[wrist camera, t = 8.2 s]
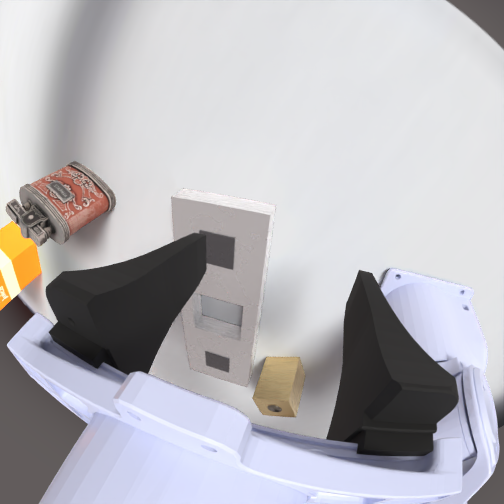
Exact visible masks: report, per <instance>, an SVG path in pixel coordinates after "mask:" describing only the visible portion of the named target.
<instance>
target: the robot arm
mask: <svg viewBox="0 0 504 504" xmlns="http://www.w3.org/2000/svg"><path fill="white" fill-rule="evenodd" d="M206 270H207V261H206V235H204V234H199V233H192V234H189V235H187V236H185V237H183V238H180V239H178V240H176V241H174V242H172V243H170V244H168V245H165V246H163V247H161V248H159V249H156V250H154V251H152V252H149V253H147V254H145V255H142V256H139V257H137V258H134V259H131V260H128V261H124V262H121V263H117V264H113V265H109V266H105V267H100V268H94V269H87V270H78V271H63V272H62V273H61V274H60V275H59V276H58V277H56V278H55V279H54V280H53V281H52V282H51V283H50V284H49V285H48V286H47V287H46V296H47V299H48V302H49V304H50V306H51V308H52V310H53V312H54V314H55V316H56V318H57V320H58V322H57V323H56V324H55V325H53V323H52V322H51V321H50V320H48V319H47V318H45V317H44V316H42V315H41V314H40V313H36V314H35V315H34V316H33V317H32V318H31V319H30V320H29V321H28V322H27V323H26V324H25V325H24V326H23V328H22V329H21V330H20V331H19V332H18V333H17V334H16V335H15V336H14V337H13V338H12V339H11V340H10V342H9V343H8V344H7V346H8V348H9V349H10V351H11V352H12V353H13V355H14V356H15V357H16V358H17V360H18V361H19V362H20V364H21V365H22V366H23V368H24V369H25V370H26V371H27V372H28V374H29V375H30V376H31V377H32V378H33V379H34V380H35V381H37V382H38V383H39V384H40V385H41V386H42V387H43V388H44V389H45V390H47V391H48V392H49V393H50V394H51V395H52V396H54V397H55V398H56V399H57V400H58V401H59V402H61V403H62V404H63V405H64V406H66V407H67V408H68V409H69V410H71V411H72V412H73V413H74V414H76V415H77V416H78V417H80V418H81V419H82V420H84V421H85V422H86V423H88V425H87V427H86V428H85V430H84V431H83V433H82V435H81V436H80V438H79V439H78V441H77V442H76V444H75V445H74V447H73V448H72V450H71V452H70V453H69V455H68V456H67V458H66V460H65V462H64V463H63V464H62V466H61V468H60V469H59V471H58V473H57V474H56V476H55V477H54V479H53V481H52V482H51V484H50V486H49V487H48V489H47V491H46V493H45V495H44V496H43V498H42V499H41V501H40V503H39V504H467V501H468V500H469V499H470V498H471V497H472V496H473V495H474V494H475V493H476V492H477V491H478V490H479V489H480V488H481V486H483V484H484V483H485V482H486V481H487V480H488V479H489V478H490V476H491V475H492V473H493V472H494V469H495V466H496V463H497V461H498V457H499V441H498V426H497V417H496V411H495V406H494V401H493V397H492V394H491V390H490V387H489V384H488V381H487V379H486V376H485V371H486V367H487V361H488V348H487V343H486V340H485V337H484V334H483V331H482V328H481V326H480V323H479V320H478V318H477V315H476V313H475V310H474V308H473V305H472V303H471V301H470V300H471V298H472V296H473V295H474V291H473V289H472V288H470V287H466V286H462V285H458V284H454V283H451V282H447V281H443V280H439V279H435V278H431V277H427V276H423V275H419V274H415V273H411V272H407V271H403V270H399V269H395V268H391V269H389V270H388V271H387V273H386V275H385V278H384V280H383V283H382V285H381V287H379V285H378V283H377V282H376V280H375V278H374V276H373V274H372V273H369V272H365V271H361V270H359V272H358V275H357V277H356V280H355V283H354V285H353V288H352V291H351V293H350V296H349V298H348V301H347V303H346V310H345V318H344V339H343V366H342V374H341V380H340V386H339V391H338V396H337V401H336V405H335V409H334V413H333V417H332V421H331V425H330V428H329V432H328V435H327V439H320V438H315V437H309V436H304V435H299V434H294V433H289V432H285V431H280V430H276V429H272V428H268V427H264V426H260V425H256V424H253V423H251V422H250V420H249V418H248V417H247V416H246V415H245V414H243V413H242V412H241V411H239V410H238V409H236V408H234V407H232V406H229V405H227V404H225V403H222V402H220V401H217V400H214V399H211V398H208V397H205V396H202V395H200V394H197V393H194V392H192V391H189V390H186V389H184V388H181V387H179V386H176V385H174V384H171V383H169V382H167V381H164V380H162V379H160V378H157V377H155V376H153V375H150V374H148V373H149V370H150V368H151V365H152V363H153V361H154V359H155V356H156V354H157V352H158V350H159V348H160V346H161V344H162V342H163V340H164V338H165V336H166V334H167V332H168V330H169V328H170V326H171V325H172V323H173V321H174V320H175V318H176V317H177V315H178V314H179V313H180V311H181V310H182V308H183V307H184V306H185V304H186V303H187V301H188V300H189V299H190V297H191V296H192V294H193V293H194V292H195V290H196V289H197V287H198V286H199V284H200V282H201V280H202V278H203V276H204V274H205V272H206ZM397 274H399V275H400V276H398V277H396V275H397ZM462 290H463V291H462ZM461 291H462V292H461Z"/></svg>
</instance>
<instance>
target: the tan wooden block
mask: <svg viewBox="0 0 504 504" xmlns="http://www.w3.org/2000/svg"><path fill="white" fill-rule="evenodd" d="M304 381H305V373H304V370H303V367H302V363H301V360H300V357H266V360H265V363H264V366H263V369H262V372H261V375H260V378H259V381H258V384H257V387H256V389H255V392H254V395H253V398H252V399H253V400H254V402H255V403H256V405H257V407H258V408H259V410H260V411H261V413H262V415H270V416H282V417H296V415H297V411H298V407H299V403H300V398H301V394H302V390H303V385H304Z"/></svg>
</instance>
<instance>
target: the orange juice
mask: <svg viewBox="0 0 504 504" xmlns="http://www.w3.org/2000/svg"><path fill="white" fill-rule="evenodd" d="M40 273H41V267H40V263H39V258H38V253H37V247H36V244H35V243H34V242H33V241H32V240H31V239H30V238H28V239H25V238H23V237H22V236H21V231H20V228H19V227H18V226H17V225H16V224H15V223H14V222H13V221H12V222H11V223H9V224H8V225H6V226H5V227H3V228H2V229H0V310H1V309H2V308H3V307H4V306H5V305H6V304H7V303H8V302H9V301H10V300H11V299H13V298H14V297H15V296H16V295H17V294H18V293H19V292H20V291H21V290H22V289H23V288H24V287H25V286H26V285H28V284H29V283H30V282H31V281H32V280H33V279H34V278H36V277H37V276H38V275H39V274H40Z"/></svg>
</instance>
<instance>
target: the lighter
mask: <svg viewBox="0 0 504 504" xmlns="http://www.w3.org/2000/svg"><path fill="white" fill-rule="evenodd" d="M19 194H20V200H21V203H22V206H21V205H20V204H19V203H18V201H17V200H16V199H13V200H12V201H10V202H8V203H7V206H6V212H7V214H8V215H9V216H10V217H11V219H12V220H13V221H14V222H15V223H16V224H18V225H19V226H20V231H21V236H22V237H23V238H25V239H28V238H30V239H31V240H32V241H33V242H34V243H35V244H36V245H37V246H38V247H39V246H41V245H42V244H43V243H45V242H46V241H47V239H48V238H49V237H50V238H51V239H53V240H54V241H55V242H56V243H58V244H60V245H61V244H63V243H65V242H66V241H67V240H68V239H69V237H70V236H71V235H72V234H74V233H75V232H76V231H78V230H79V229H81V228H82V227H83V226H85V225H86V224H88V223H89V222H91V221H92V220H94V219H95V218H97V217H98V216H100V215H101V214H103V213H107V212H109V211H110V210H112V209H113V208H114V207H115V205H116V197H115V194H114V192H113V191H112V190H111V189H110V188H109V186H108V185H107V184H106V183H105V182H104V181H103V180H102V179H101V178H100V177H99V176H97V175H96V174H95V173H94V172H93V171H91V170H90V169H88V168H87V167H86V166H84V165H82V164H80V163H78V162H76V161H74V162H71V163H69V164H67V165H66V167H64V168H62V169H60V170H58V171H56V172H54V173H52V174H49V175H47V176H45V177H43V178H41V179H39V180H38V181H36V182H34V183H32V184H26V185H24V186H22V187H21V188H20V192H19Z"/></svg>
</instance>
